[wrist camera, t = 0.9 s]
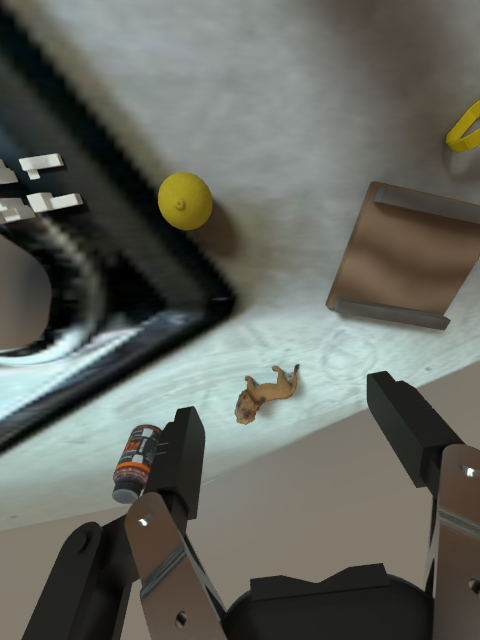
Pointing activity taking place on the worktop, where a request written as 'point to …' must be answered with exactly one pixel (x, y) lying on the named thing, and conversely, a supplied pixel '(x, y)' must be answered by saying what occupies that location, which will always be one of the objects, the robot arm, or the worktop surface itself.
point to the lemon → (185, 201)
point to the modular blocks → (40, 202)
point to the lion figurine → (263, 395)
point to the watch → (459, 129)
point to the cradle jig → (406, 257)
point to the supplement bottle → (135, 464)
